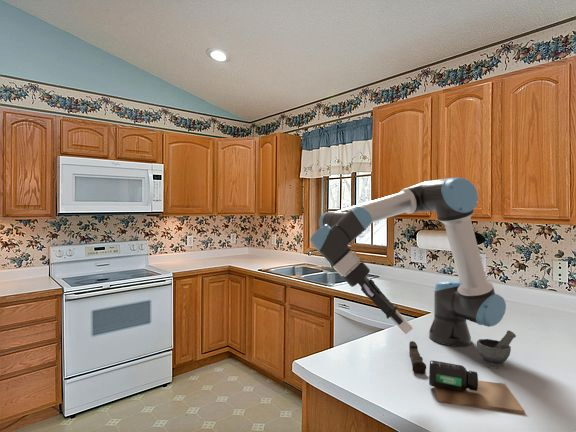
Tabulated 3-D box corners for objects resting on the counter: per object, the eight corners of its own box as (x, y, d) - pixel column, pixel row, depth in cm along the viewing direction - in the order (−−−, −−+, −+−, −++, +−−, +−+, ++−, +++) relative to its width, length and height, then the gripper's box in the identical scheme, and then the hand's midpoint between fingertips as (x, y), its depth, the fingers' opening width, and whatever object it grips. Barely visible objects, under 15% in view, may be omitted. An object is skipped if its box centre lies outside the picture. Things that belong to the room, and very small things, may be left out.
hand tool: (426, 375, 111) (426, 360, 111) (412, 374, 112) (412, 359, 112) (419, 353, 130) (420, 340, 130) (407, 351, 131) (408, 339, 131)
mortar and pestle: (476, 367, 118) (478, 330, 118) (475, 357, 127) (476, 322, 127) (517, 374, 113) (518, 336, 113) (513, 363, 122) (514, 327, 122)
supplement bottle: (429, 382, 99) (479, 392, 94) (430, 357, 102) (478, 365, 98) (428, 388, 104) (475, 397, 100) (429, 363, 108) (474, 371, 103)
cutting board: (438, 401, 95) (438, 398, 95) (431, 377, 110) (431, 374, 110) (524, 414, 90) (524, 410, 90) (504, 386, 105) (505, 383, 105)
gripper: (360, 263, 101) (421, 329, 97) (362, 258, 114) (416, 316, 110) (340, 281, 103) (400, 346, 99) (344, 274, 115) (398, 331, 111)
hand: (409, 330), depth 104 cm, fingers closed
